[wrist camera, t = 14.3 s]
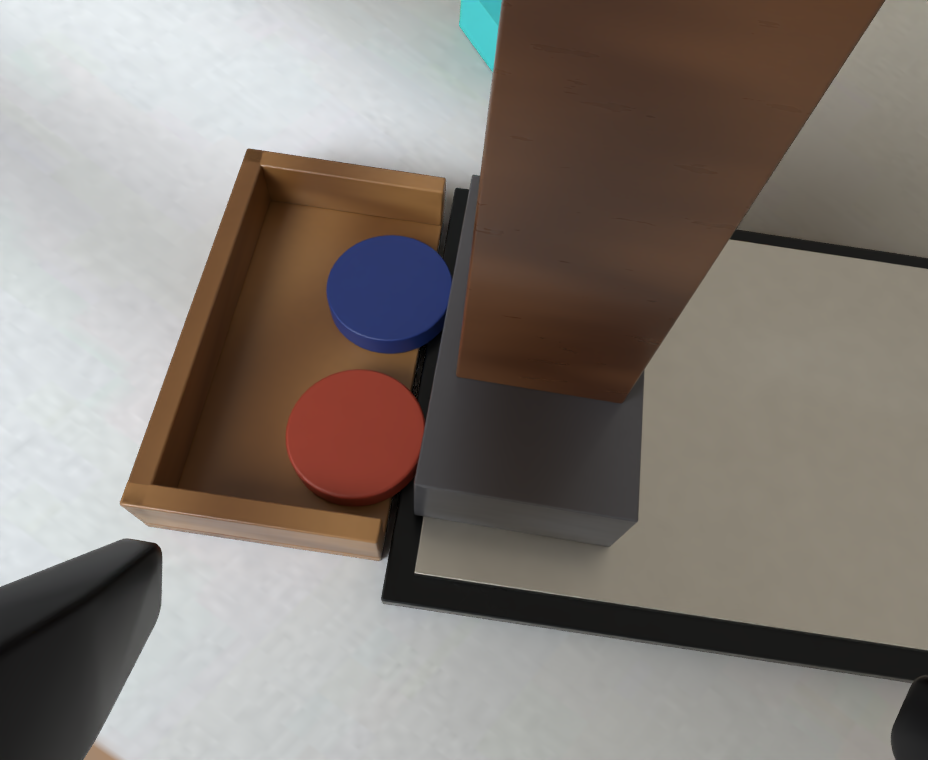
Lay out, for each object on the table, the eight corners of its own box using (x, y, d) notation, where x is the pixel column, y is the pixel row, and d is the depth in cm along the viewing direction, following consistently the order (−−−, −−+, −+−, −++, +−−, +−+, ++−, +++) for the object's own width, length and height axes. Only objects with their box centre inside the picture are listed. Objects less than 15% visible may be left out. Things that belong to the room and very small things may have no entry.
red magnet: (419, 512, 18) (419, 503, 17) (279, 502, 18) (272, 492, 17) (431, 386, 20) (432, 372, 19) (302, 376, 20) (298, 362, 19)
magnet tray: (443, 219, 23) (446, 177, 21) (380, 561, 18) (377, 543, 16) (259, 192, 23) (246, 146, 21) (147, 526, 18) (118, 504, 16)
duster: (627, 256, 22) (875, -285, 10) (610, 547, 18) (985, 210, 6) (466, 230, 22) (527, -339, 10) (413, 515, 18) (414, 119, 6)
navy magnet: (431, 368, 20) (431, 355, 19) (311, 335, 20) (306, 321, 20) (467, 267, 22) (468, 251, 21) (355, 238, 22) (352, 221, 21)
